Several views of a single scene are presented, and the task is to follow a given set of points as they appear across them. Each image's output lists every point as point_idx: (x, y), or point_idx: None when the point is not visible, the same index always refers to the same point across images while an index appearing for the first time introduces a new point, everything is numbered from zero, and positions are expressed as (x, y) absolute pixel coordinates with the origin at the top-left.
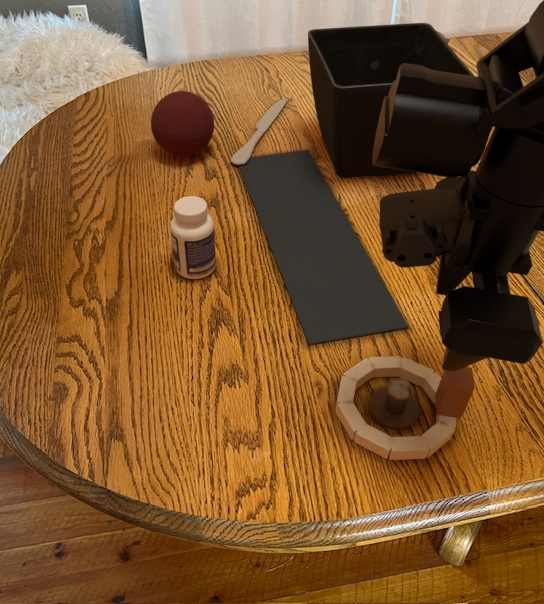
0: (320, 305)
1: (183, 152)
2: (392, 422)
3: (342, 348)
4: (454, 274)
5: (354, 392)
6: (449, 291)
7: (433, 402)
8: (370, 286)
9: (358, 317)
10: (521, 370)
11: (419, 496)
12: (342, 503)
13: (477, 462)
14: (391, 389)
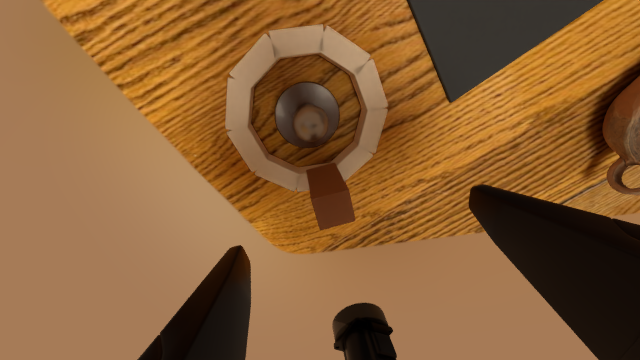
0: None
1: None
2: (280, 120)
3: (391, 10)
4: (530, 250)
5: (297, 55)
6: (478, 216)
7: (334, 158)
8: (531, 22)
9: (459, 19)
10: (408, 228)
11: (204, 169)
12: (137, 88)
13: (276, 211)
14: (299, 113)
